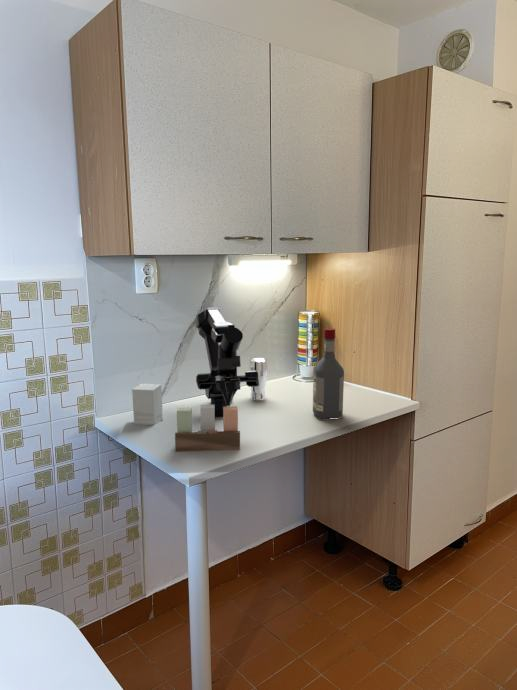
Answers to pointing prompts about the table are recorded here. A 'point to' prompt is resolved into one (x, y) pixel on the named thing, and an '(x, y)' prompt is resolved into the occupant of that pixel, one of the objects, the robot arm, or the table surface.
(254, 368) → the beer glass
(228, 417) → the salmon brown block
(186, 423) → the sage key
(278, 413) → the table surface
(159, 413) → the supplement box
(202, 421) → the light grey tall block
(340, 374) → the liquor
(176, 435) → the keypad base
